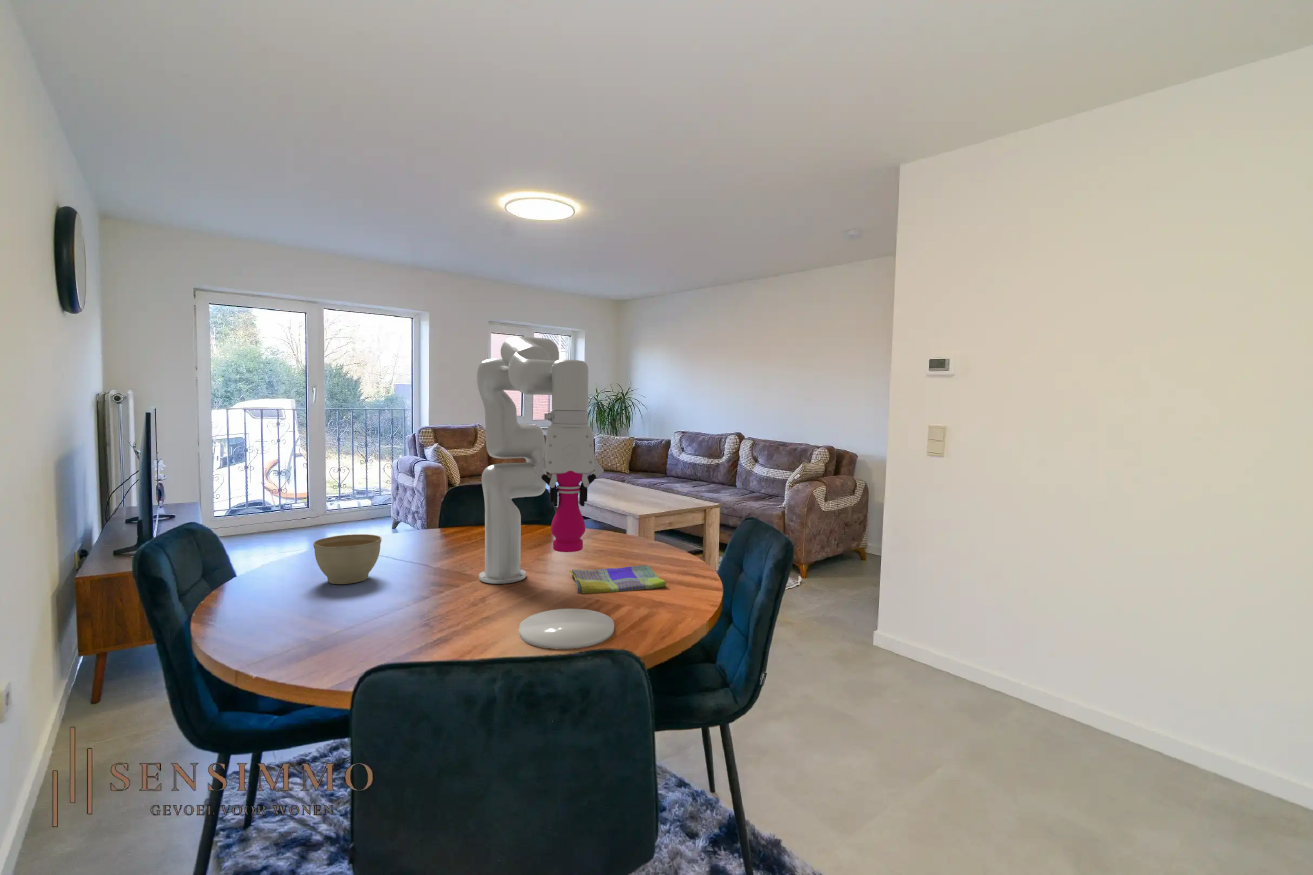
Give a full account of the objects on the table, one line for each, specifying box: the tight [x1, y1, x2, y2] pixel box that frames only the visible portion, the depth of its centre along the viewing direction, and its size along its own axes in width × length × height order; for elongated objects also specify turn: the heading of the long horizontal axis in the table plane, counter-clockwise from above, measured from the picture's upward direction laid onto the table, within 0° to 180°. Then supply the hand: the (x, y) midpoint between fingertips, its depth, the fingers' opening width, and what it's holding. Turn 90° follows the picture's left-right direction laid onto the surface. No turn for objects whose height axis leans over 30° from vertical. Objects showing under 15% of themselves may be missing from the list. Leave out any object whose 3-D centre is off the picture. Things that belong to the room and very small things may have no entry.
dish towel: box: [569, 564, 667, 595], centre depth 161 cm, size 18×24×3 cm
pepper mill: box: [550, 471, 586, 553], centre depth 124 cm, size 7×7×20 cm
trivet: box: [518, 608, 615, 650], centre depth 126 cm, size 20×20×1 cm
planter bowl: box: [312, 533, 383, 585], centre depth 158 cm, size 16×16×11 cm
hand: (568, 504), depth 125 cm, fingers closed on pepper mill, 5 cm apart
